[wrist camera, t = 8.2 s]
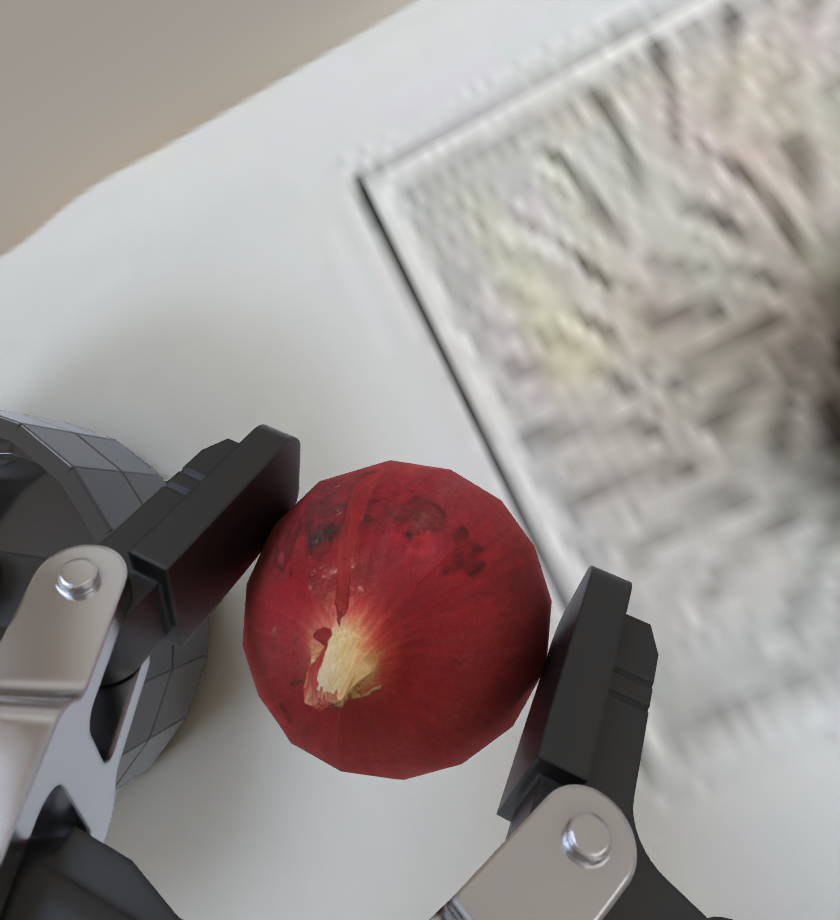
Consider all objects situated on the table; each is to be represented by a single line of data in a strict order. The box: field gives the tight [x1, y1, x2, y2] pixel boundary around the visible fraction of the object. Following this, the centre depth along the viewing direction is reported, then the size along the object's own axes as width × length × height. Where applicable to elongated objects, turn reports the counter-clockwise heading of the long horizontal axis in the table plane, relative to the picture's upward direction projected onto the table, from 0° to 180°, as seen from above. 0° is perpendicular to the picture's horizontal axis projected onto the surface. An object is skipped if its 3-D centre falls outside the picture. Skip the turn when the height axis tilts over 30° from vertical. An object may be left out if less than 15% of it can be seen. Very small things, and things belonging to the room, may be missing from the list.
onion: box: [243, 460, 552, 780], centre depth 12 cm, size 6×6×8 cm
